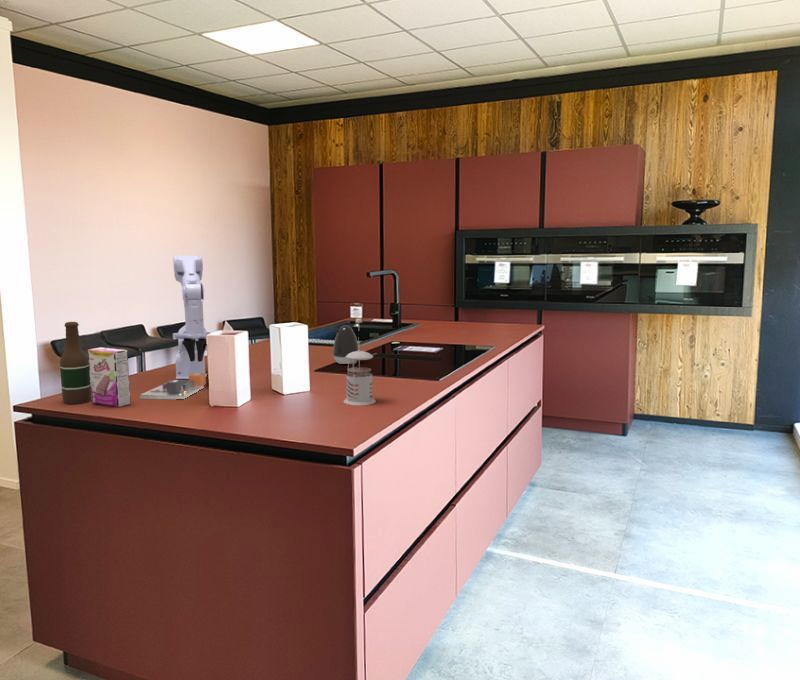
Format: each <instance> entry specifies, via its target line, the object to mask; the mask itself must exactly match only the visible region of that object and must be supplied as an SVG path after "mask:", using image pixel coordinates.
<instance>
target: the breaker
mask: <svg viewBox="0 0 800 680" xmlns="http://www.w3.org/2000/svg"><path fill="white" fill-rule="evenodd" d="M181 380H182V379H171V380H169V381H166V382H165V383H166V384H167V393H177V392H179V391H181Z"/></svg>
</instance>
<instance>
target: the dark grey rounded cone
mask: <svg viewBox="0 0 800 680" xmlns="http://www.w3.org/2000/svg"><path fill="white" fill-rule="evenodd" d="M331 331H333V332H335V333H336V336H335V339H334V341H333V346H332V347H333V350H332V355H333V358H334V360H335V362H336V363H338V364H339V365H341V364H348V363H349V364H350V365H353V364H352V363H353V362H354V360H352V363H351V360H350V359H347V358H346V356H347V355H348V354H349V353H351V352H355V351H358V350H359V342H358V340H357V336H356V334H355V332H354V330H353V328H352V327H351V326H349V325H342V326H340V327H339V328H336V327H332V328H331ZM349 360H350V362H349ZM354 363H355V364H356V360H355V362H354Z"/></svg>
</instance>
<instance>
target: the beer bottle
mask: <svg viewBox="0 0 800 680" xmlns="http://www.w3.org/2000/svg"><path fill="white" fill-rule="evenodd" d="M64 327H65V347H64V348H65V349H64V350H63V353H62V354H61V356H60V359H59V370H60V382H61V385H60V386H61V394H62V395H61V396H62V402H63V403H64V404H67V405H80V404H85V403H88V402H90V401H92V396H91V382H90V369H89V357H88V355H87V353H86V352H85V351H84V350H83V348H82V346H81V340H80V333H79V323H78V322H77V321H67V322H65V323H64Z"/></svg>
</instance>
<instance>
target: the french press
mask: <svg viewBox="0 0 800 680" xmlns="http://www.w3.org/2000/svg"><path fill="white" fill-rule="evenodd" d="M355 323H357V324H358V326H357V327H358V328H357V329H358V330H360V323H361V324H362V323H363V320H362V319H361V318H356V319H355ZM360 346H361V345H360V344H358V348H359V350H358V351H355V352H351V353H349V354H348V355H347V356H346V358H347V359H350V360H351V363H352V360H354V362H355V360H356V362H355V363H354V362H353V363H352V364H351V365H352V367H350V365H349V363H348V365H347V370H346V371H347V374H346V398H345V399H344V400H343V403H344V404H345V403H346V405H348V404H349V405H350V406H367V405H373V404H375V403H376V402H377V401H376V399H375V398H374V395H373V394H374V393H373V392H374V391H373V389H374V388H373V384H374V383H373V380H374V379H373V373H371V371H372V369H371V368H370V367H361V363H360V362H361V361H366V360H371V359H373V357H374V356H373V355H372V354H371V353H369V352H367V351H363V350H360ZM350 360H349V362H350ZM357 363H358V366H355V364H357ZM349 367H350V368H349Z"/></svg>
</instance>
